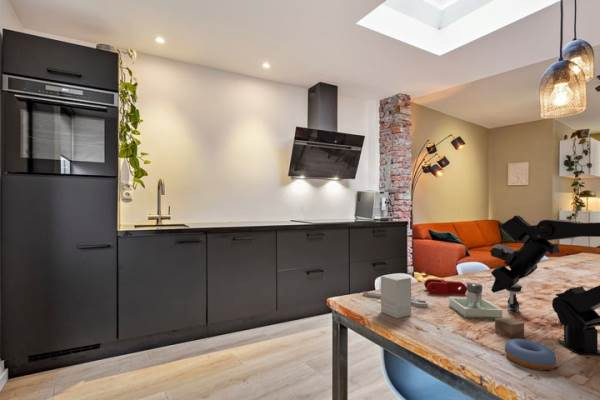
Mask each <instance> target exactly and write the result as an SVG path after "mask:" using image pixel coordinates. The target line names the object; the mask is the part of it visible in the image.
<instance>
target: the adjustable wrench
mask: <svg viewBox="0 0 600 400" xmlns="http://www.w3.org/2000/svg"><path fill="white" fill-rule="evenodd" d="M362 296H364V297H369V298H373V299H380V300H381V293H377V292H368V291H363V292H362ZM428 305H429V304H428V303H427V301H426V300H425V299H420V298H416V297H414V298H411V306H413V307H416V308H429V307H428Z"/></svg>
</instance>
